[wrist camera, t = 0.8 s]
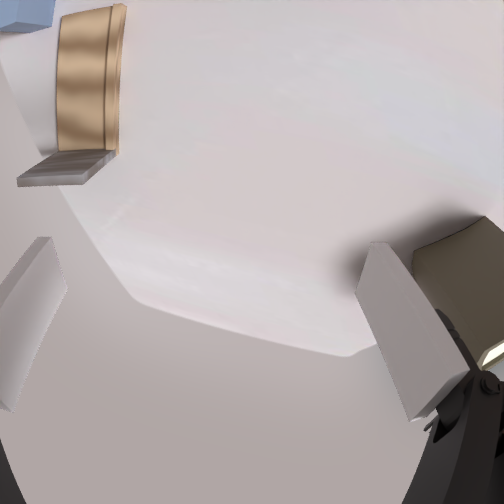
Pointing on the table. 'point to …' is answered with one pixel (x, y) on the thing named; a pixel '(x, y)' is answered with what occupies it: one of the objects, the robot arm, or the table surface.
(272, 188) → the table surface
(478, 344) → the book
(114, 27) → the shelf
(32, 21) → the slim book
